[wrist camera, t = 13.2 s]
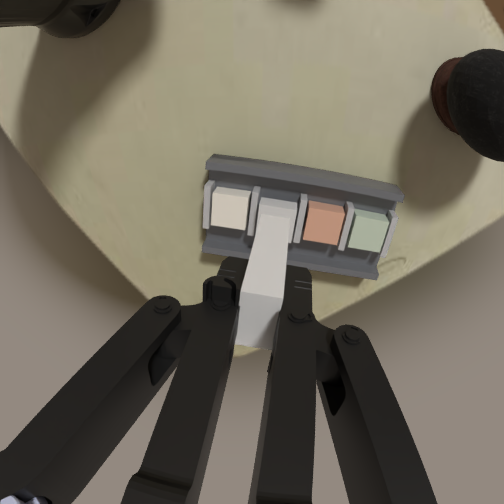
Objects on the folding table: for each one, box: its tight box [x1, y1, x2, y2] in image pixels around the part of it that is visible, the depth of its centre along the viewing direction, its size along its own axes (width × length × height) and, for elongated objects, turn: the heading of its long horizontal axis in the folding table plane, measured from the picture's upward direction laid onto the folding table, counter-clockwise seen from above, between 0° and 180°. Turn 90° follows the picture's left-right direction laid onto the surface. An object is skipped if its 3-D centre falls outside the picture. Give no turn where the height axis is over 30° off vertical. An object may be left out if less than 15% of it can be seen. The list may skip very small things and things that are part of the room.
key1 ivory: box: [211, 187, 251, 230], centre depth 42 cm, size 4×4×2 cm
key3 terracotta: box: [303, 200, 345, 245], centre depth 41 cm, size 4×4×2 cm
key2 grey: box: [255, 197, 297, 243], centre depth 40 cm, size 4×4×2 cm
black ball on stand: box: [431, 49, 504, 162], centre depth 26 cm, size 13×13×15 cm
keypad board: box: [202, 154, 405, 280], centre depth 43 cm, size 25×13×4 cm, turn 84°
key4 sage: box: [347, 209, 389, 253], centre depth 41 cm, size 4×4×2 cm
